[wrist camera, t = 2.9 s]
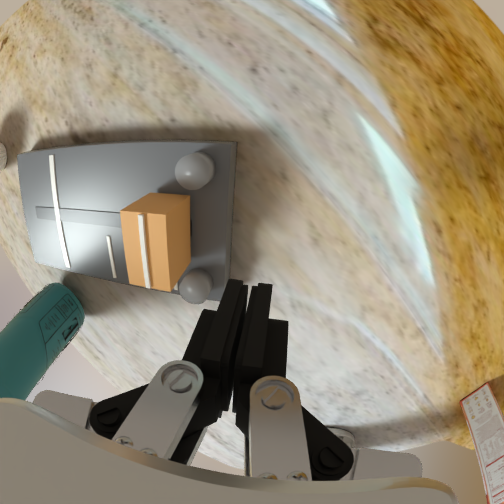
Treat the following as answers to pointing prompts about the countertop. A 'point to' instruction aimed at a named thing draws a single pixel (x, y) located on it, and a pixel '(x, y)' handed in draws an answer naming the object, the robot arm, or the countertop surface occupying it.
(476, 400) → the cracker box
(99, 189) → the console board
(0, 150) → the muffin
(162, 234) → the fader tab
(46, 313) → the beverage bottle
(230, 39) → the countertop surface
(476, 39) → the countertop surface
